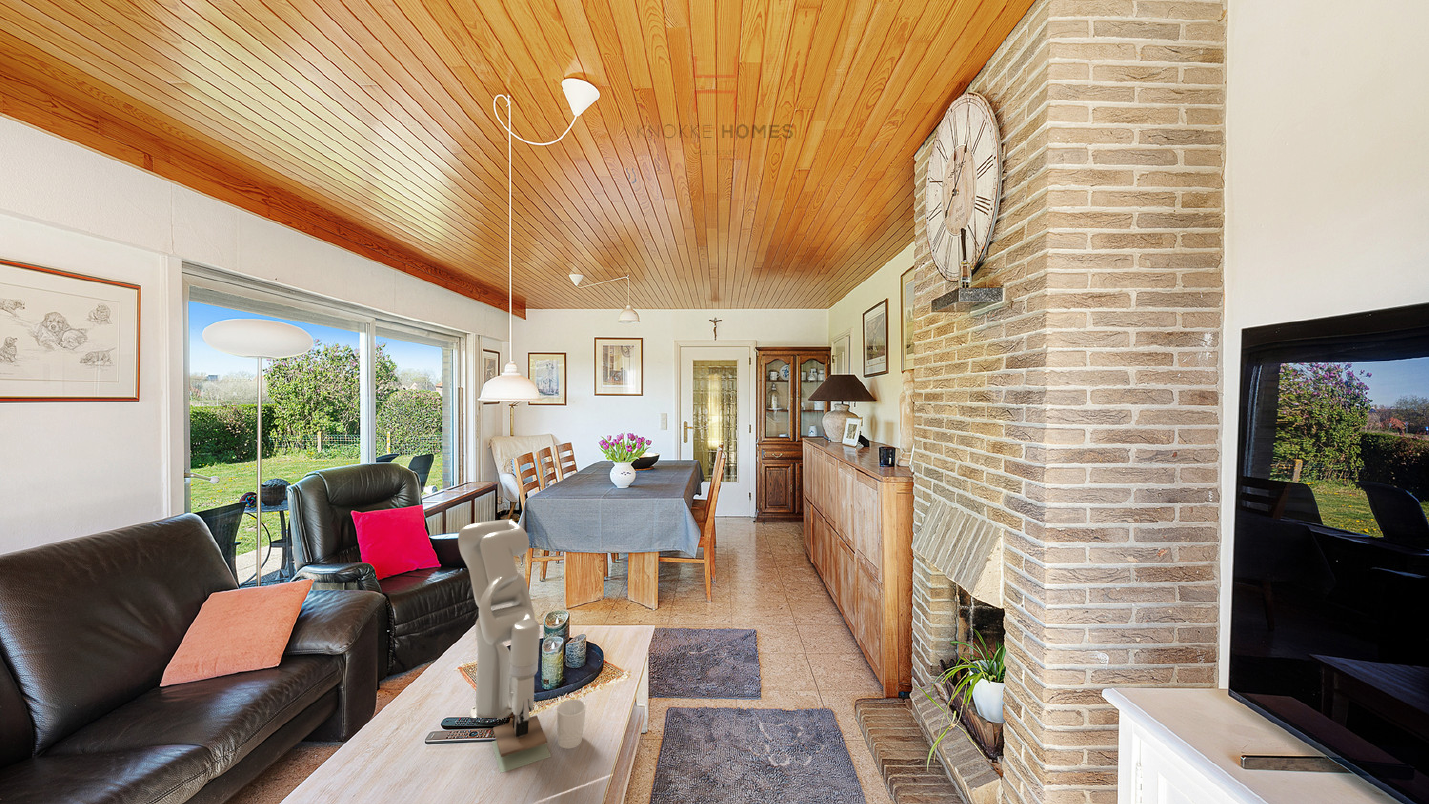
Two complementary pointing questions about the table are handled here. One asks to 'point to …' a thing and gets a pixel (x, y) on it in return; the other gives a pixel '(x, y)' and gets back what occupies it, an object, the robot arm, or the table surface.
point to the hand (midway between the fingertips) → (520, 730)
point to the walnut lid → (515, 744)
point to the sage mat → (520, 757)
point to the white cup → (570, 723)
